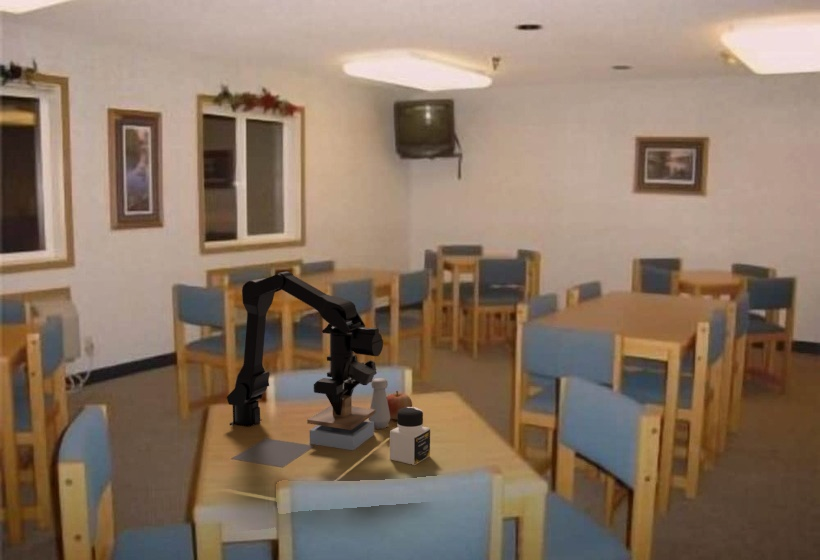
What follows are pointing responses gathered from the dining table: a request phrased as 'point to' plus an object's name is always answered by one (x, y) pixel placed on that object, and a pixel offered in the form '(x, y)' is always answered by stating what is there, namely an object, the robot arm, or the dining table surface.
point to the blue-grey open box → (342, 435)
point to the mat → (273, 452)
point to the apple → (397, 403)
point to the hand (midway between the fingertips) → (341, 412)
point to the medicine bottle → (410, 437)
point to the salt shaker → (380, 404)
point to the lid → (342, 416)
